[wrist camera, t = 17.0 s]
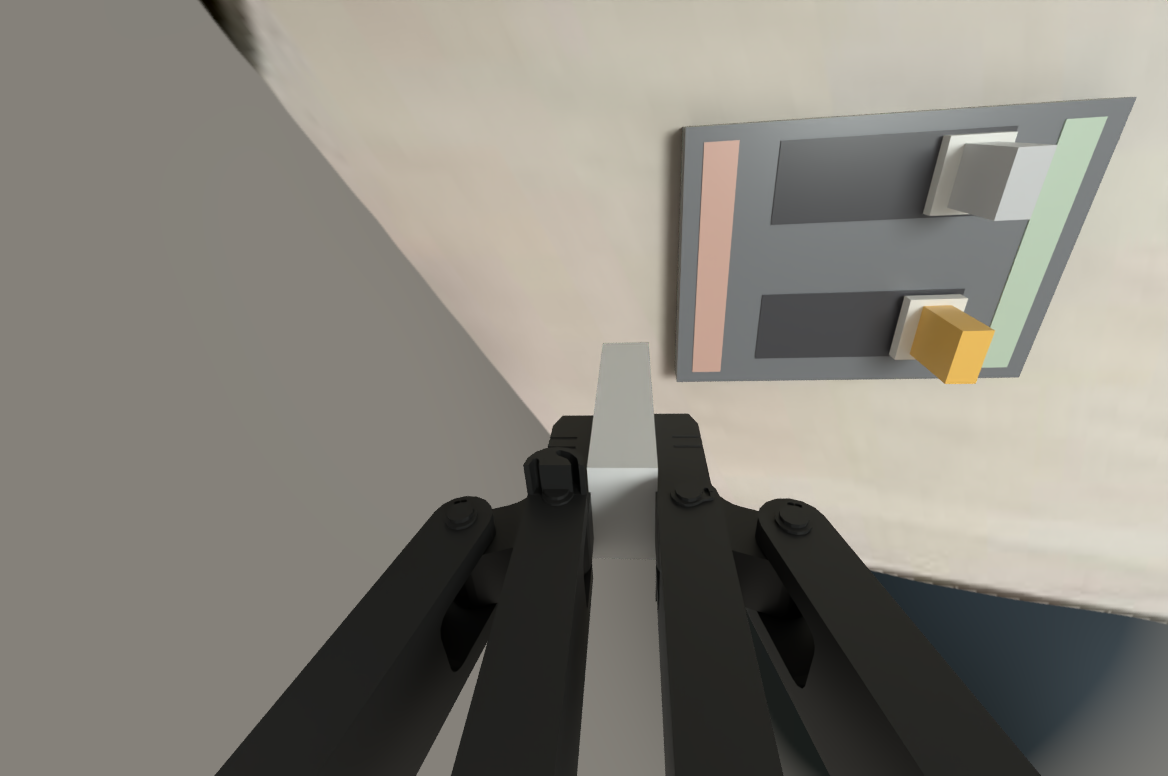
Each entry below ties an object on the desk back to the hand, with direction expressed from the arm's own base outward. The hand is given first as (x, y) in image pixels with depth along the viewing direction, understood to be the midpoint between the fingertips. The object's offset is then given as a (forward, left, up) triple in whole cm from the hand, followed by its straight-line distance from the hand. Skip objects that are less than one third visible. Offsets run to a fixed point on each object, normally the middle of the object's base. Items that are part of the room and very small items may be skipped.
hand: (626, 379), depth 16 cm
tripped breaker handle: (+8, +23, -24) cm, 34 cm away
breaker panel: (+3, +18, -26) cm, 32 cm away
